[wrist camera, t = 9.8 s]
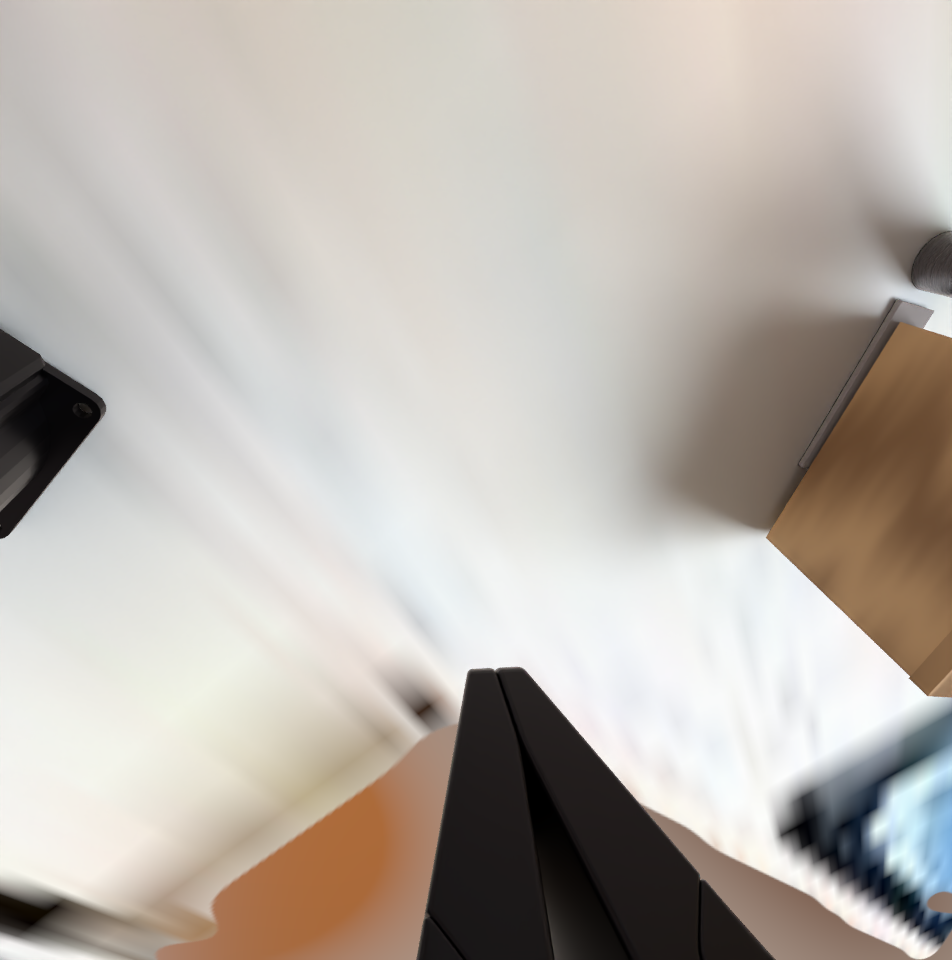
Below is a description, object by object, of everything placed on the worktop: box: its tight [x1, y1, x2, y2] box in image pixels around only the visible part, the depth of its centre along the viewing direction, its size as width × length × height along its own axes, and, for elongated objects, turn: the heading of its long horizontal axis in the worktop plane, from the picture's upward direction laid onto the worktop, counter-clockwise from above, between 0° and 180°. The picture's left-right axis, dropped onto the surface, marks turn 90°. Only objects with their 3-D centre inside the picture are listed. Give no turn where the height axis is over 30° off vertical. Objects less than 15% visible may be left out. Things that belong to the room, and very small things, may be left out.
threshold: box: [798, 300, 934, 469], centre depth 22 cm, size 7×2×1 cm, turn 165°
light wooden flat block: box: [766, 322, 952, 697], centre depth 19 cm, size 10×2×8 cm, turn 164°
